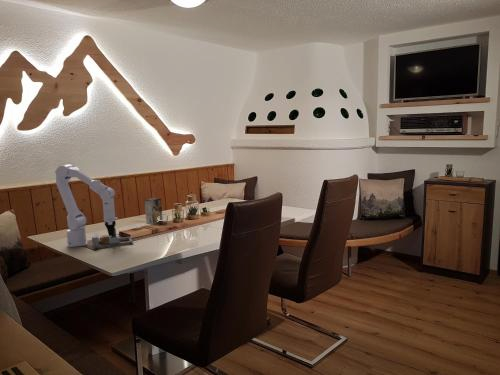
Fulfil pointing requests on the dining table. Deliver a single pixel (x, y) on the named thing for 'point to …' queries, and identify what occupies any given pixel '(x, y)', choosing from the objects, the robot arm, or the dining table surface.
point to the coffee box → (153, 210)
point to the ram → (114, 237)
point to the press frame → (96, 244)
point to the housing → (104, 239)
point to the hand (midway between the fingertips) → (111, 235)
